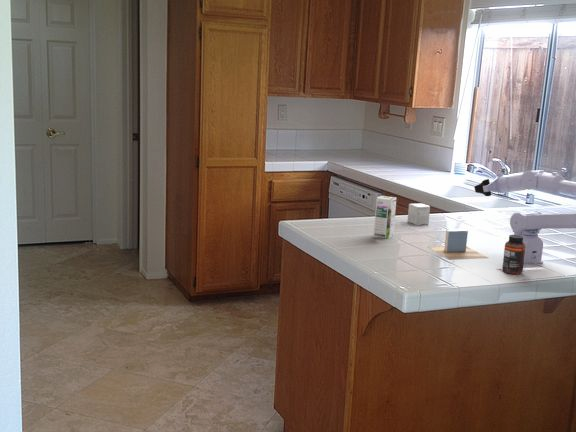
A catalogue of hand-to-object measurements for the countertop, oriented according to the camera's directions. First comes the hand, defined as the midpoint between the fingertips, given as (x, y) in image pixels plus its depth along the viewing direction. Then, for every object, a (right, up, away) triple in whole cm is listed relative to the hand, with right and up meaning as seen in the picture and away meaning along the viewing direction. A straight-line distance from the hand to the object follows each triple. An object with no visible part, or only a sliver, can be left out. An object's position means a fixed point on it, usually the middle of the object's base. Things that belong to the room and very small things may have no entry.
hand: (483, 186), depth 230 cm
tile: (-12, -22, -10) cm, 27 cm away
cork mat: (-12, -23, -11) cm, 28 cm away
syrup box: (-34, -18, +7) cm, 39 cm away
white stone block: (-17, -13, +31) cm, 37 cm away
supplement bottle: (0, -27, -28) cm, 39 cm away
